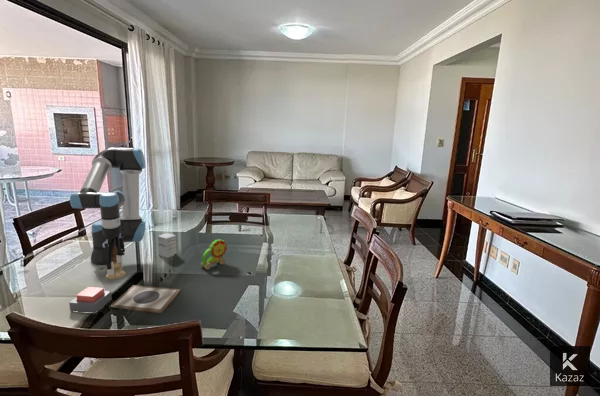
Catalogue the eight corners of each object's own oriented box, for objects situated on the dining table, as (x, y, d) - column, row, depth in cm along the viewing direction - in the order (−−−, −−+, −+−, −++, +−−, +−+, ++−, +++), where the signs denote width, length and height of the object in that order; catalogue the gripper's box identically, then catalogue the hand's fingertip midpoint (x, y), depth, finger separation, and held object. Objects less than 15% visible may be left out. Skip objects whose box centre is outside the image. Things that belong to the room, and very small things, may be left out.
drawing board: (108, 308, 141) (108, 306, 141) (133, 286, 160) (133, 284, 159) (162, 313, 140) (161, 311, 140) (180, 290, 158) (180, 288, 158)
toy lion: (205, 271, 180) (205, 245, 176) (200, 267, 183) (199, 242, 180) (228, 262, 192) (228, 238, 188) (222, 259, 195) (223, 236, 192)
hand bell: (121, 269, 162) (118, 239, 158) (128, 275, 157) (126, 244, 153) (102, 274, 156) (99, 244, 152) (110, 281, 151) (107, 249, 147)
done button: (77, 301, 138) (76, 295, 137) (88, 292, 145) (88, 286, 144) (93, 303, 137) (92, 296, 137) (104, 294, 144) (103, 288, 144)
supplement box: (158, 255, 195) (157, 235, 192) (168, 251, 202) (167, 232, 199) (166, 258, 192) (166, 238, 189) (176, 254, 198) (176, 234, 195)
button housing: (70, 311, 137) (69, 302, 136) (88, 298, 148) (87, 289, 147) (95, 314, 136) (94, 304, 135) (111, 300, 147) (111, 291, 146)
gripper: (105, 234, 140) (110, 281, 146) (131, 220, 159) (134, 262, 165) (89, 232, 141) (94, 280, 147) (116, 218, 159) (120, 261, 165)
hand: (115, 271), depth 156 cm, fingers closed on hand bell, 6 cm apart
